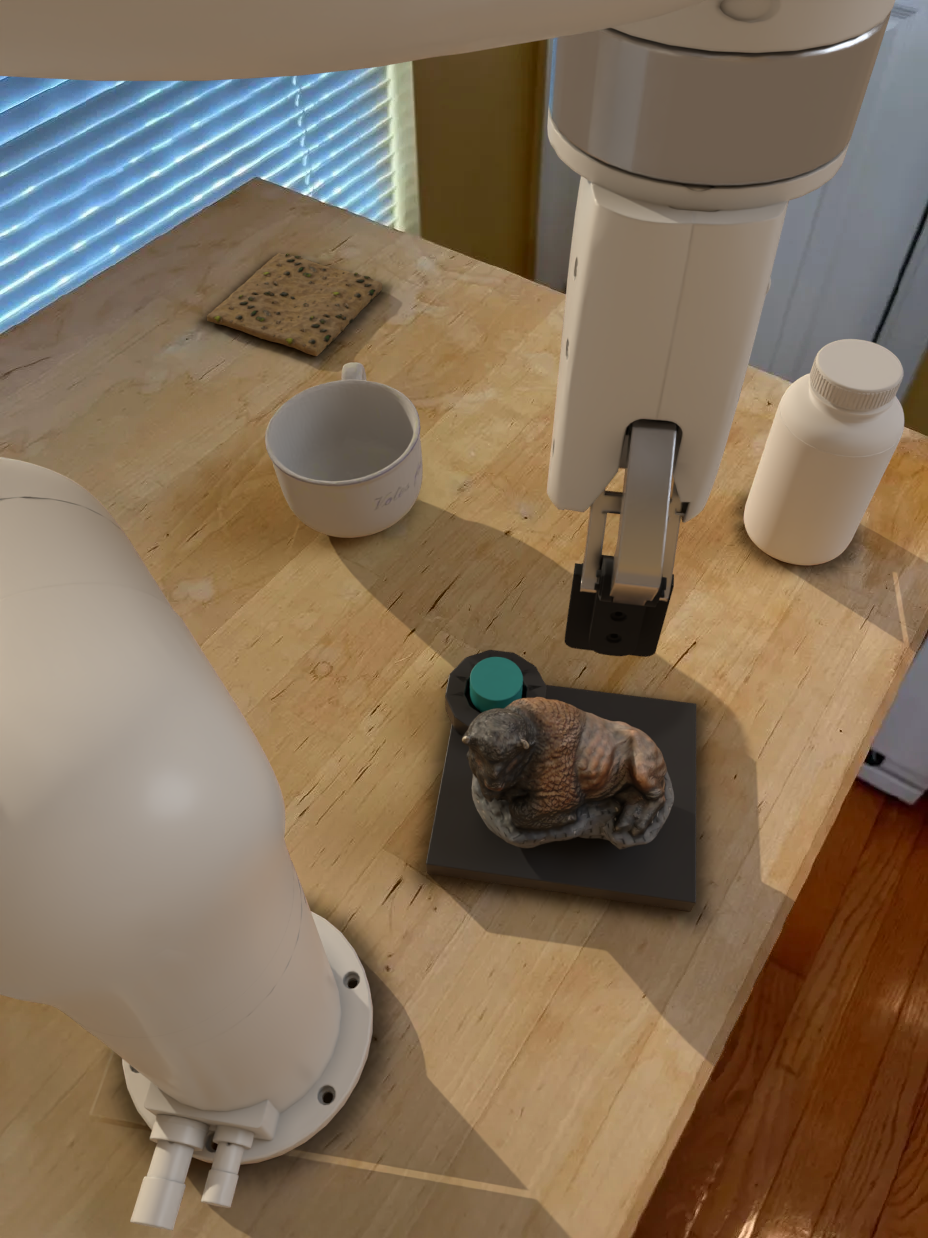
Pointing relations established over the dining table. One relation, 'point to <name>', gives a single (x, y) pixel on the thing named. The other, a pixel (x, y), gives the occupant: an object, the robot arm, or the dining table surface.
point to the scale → (577, 863)
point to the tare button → (495, 683)
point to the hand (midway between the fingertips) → (616, 545)
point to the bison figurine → (565, 775)
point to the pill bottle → (826, 453)
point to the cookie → (296, 303)
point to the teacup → (347, 455)
